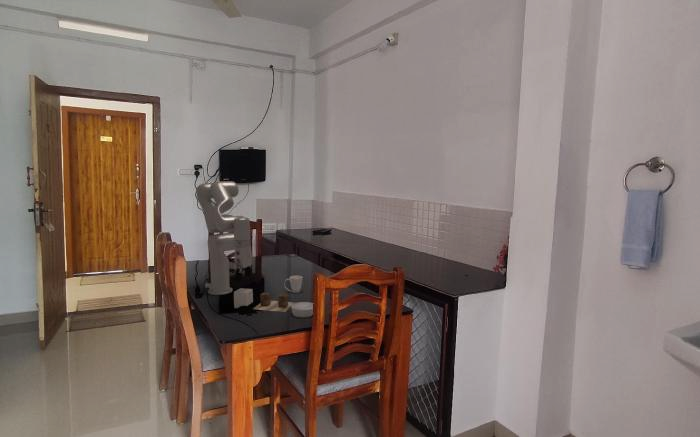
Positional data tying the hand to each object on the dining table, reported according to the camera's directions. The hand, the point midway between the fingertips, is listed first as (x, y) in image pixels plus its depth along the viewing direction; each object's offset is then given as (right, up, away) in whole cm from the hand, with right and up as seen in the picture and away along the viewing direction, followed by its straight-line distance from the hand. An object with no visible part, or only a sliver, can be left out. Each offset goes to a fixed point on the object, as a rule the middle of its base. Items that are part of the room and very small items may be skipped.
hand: (243, 278), depth 207 cm
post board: (+15, -14, -1) cm, 21 cm away
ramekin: (+30, -16, -12) cm, 36 cm away
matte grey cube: (-1, -14, +2) cm, 14 cm away
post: (+19, -13, -2) cm, 24 cm away
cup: (+20, -11, +27) cm, 36 cm away
